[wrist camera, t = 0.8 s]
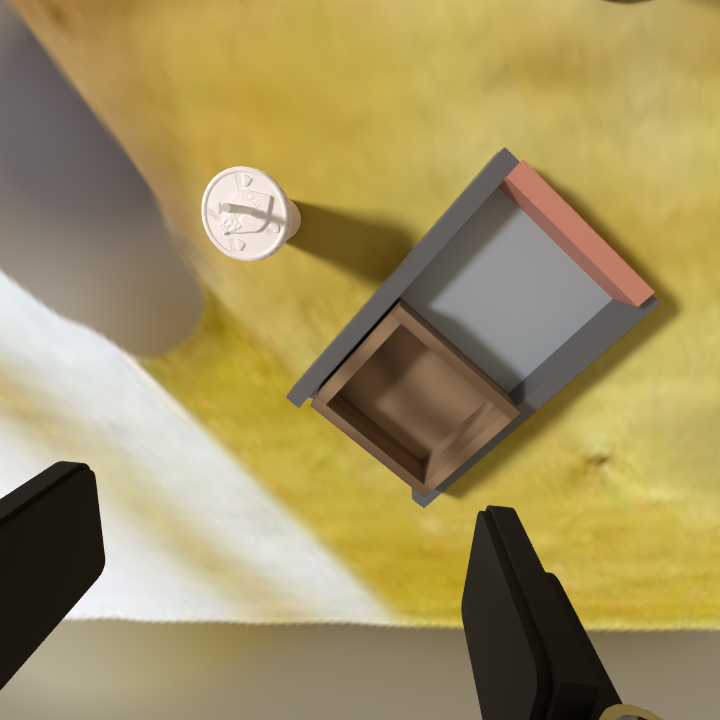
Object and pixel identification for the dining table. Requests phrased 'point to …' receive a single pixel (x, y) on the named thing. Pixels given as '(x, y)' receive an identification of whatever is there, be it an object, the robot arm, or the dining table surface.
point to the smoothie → (248, 214)
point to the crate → (414, 399)
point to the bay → (506, 293)
